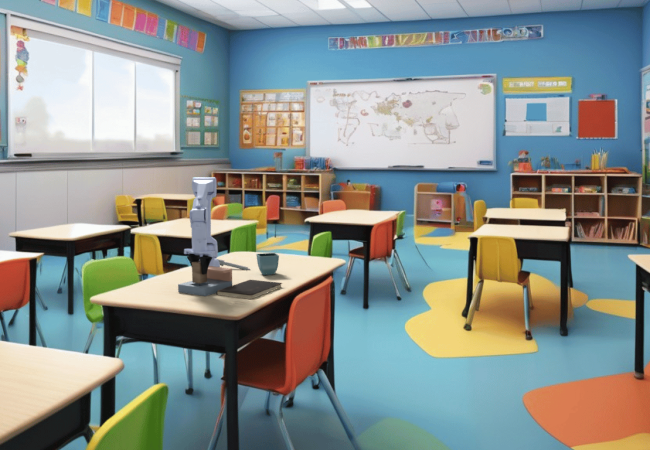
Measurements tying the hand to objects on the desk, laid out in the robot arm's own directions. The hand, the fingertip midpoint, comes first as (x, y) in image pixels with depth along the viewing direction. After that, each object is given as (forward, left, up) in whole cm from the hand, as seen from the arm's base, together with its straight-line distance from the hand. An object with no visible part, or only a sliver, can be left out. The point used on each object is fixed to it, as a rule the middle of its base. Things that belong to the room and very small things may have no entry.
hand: (200, 273), depth 236 cm
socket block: (-3, 0, -7) cm, 8 cm away
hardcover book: (-11, +16, -8) cm, 21 cm away
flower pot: (-42, +2, -7) cm, 43 cm away
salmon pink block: (-8, 0, -4) cm, 9 cm away
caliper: (-43, -21, -8) cm, 48 cm away
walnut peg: (0, 0, -3) cm, 3 cm away
